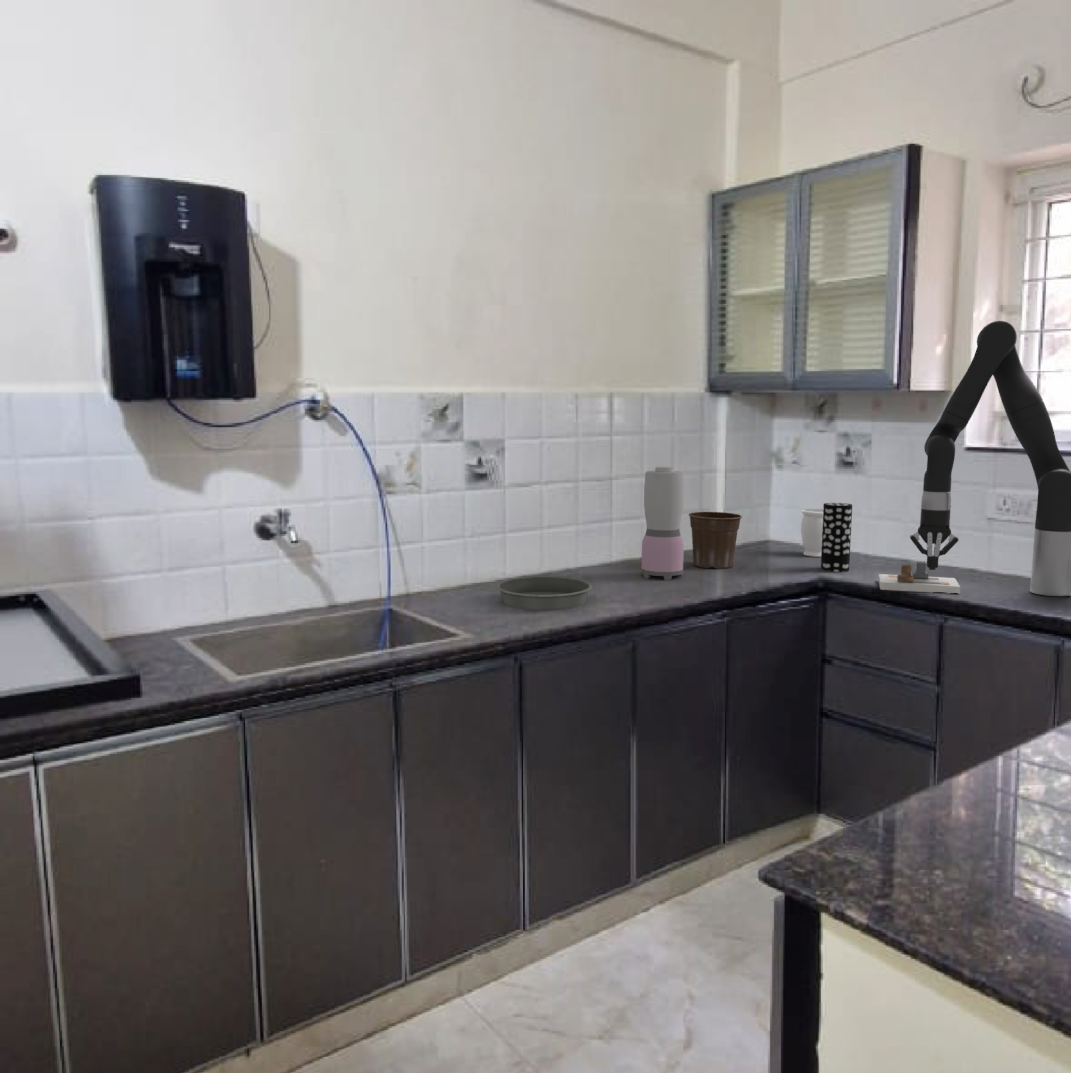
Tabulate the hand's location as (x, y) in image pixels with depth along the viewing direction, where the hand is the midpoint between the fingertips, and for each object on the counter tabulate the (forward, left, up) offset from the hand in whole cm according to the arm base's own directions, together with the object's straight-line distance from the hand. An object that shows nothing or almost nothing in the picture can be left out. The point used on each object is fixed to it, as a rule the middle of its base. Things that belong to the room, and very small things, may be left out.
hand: (931, 569), depth 265 cm
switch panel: (+4, +4, -5) cm, 7 cm away
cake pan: (+97, +53, -5) cm, 110 cm away
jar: (+32, -44, -5) cm, 55 cm away
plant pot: (+62, -13, -5) cm, 63 cm away
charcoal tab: (+3, 0, -2) cm, 4 cm away
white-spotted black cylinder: (+26, -18, -5) cm, 32 cm away
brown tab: (+7, +7, -2) cm, 10 cm away
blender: (+74, +8, -5) cm, 74 cm away
